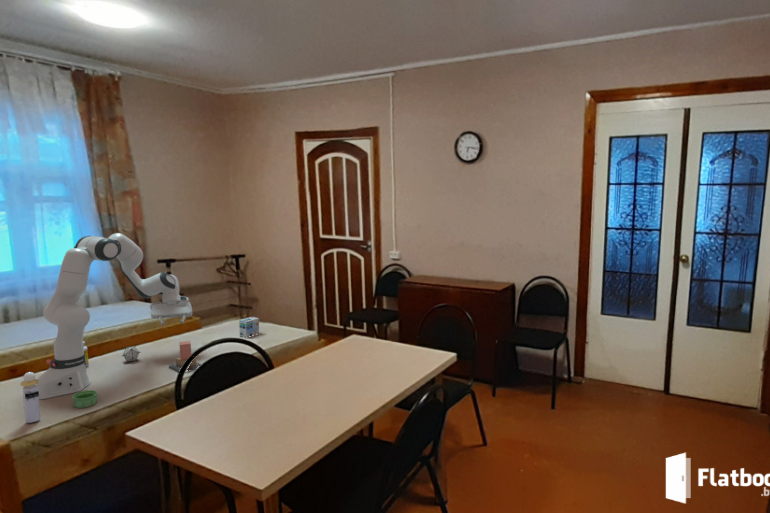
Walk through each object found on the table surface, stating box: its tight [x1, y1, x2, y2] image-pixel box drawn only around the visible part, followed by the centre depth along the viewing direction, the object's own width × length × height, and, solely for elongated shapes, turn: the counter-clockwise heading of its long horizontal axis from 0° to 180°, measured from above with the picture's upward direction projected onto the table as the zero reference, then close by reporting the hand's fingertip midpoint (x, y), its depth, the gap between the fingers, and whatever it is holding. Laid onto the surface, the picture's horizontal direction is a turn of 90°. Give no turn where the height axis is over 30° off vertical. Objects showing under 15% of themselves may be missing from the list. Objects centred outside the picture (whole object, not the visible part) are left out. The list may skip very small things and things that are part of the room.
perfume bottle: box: [19, 371, 41, 424], centre depth 183 cm, size 6×6×20 cm
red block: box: [178, 340, 192, 360], centre depth 242 cm, size 5×5×8 cm
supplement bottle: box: [83, 340, 89, 368], centre depth 242 cm, size 7×7×13 cm
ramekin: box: [71, 389, 99, 409], centre depth 200 cm, size 9×9×4 cm
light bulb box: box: [238, 316, 260, 338], centre depth 298 cm, size 11×7×11 cm, turn 147°
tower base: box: [168, 356, 202, 373], centre depth 243 cm, size 12×12×5 cm
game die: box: [121, 345, 141, 364], centre depth 251 cm, size 9×8×10 cm
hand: (172, 323), depth 250 cm, fingers open, 8 cm apart
